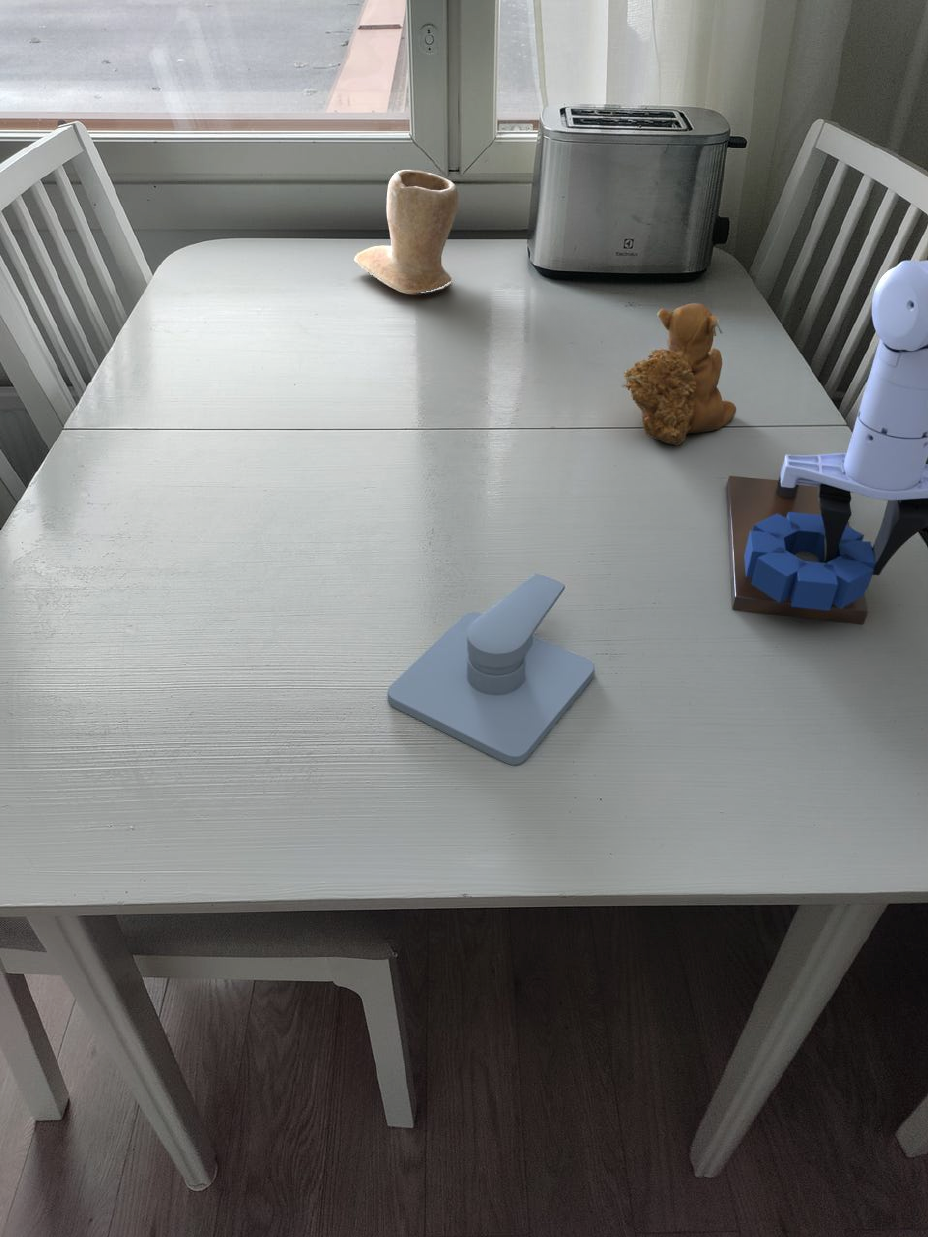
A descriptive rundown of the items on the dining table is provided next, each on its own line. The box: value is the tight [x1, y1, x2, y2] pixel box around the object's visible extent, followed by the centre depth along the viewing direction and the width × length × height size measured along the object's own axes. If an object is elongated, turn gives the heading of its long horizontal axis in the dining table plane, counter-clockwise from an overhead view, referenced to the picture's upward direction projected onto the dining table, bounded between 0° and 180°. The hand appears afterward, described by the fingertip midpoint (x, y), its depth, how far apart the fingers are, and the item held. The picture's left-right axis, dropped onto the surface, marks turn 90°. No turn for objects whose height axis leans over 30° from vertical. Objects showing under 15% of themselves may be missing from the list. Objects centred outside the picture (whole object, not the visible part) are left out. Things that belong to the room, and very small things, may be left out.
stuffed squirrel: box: [621, 302, 737, 446], centre depth 104 cm, size 10×14×13 cm
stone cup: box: [353, 169, 459, 295], centre depth 137 cm, size 15×12×15 cm
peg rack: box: [725, 464, 869, 625], centre depth 89 cm, size 11×20×4 cm, turn 170°
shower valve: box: [387, 573, 596, 766], centre depth 75 cm, size 12×6×15 cm
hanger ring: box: [744, 512, 876, 611], centre depth 81 cm, size 10×10×3 cm
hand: (850, 565), depth 81 cm, fingers closed on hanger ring, 3 cm apart
